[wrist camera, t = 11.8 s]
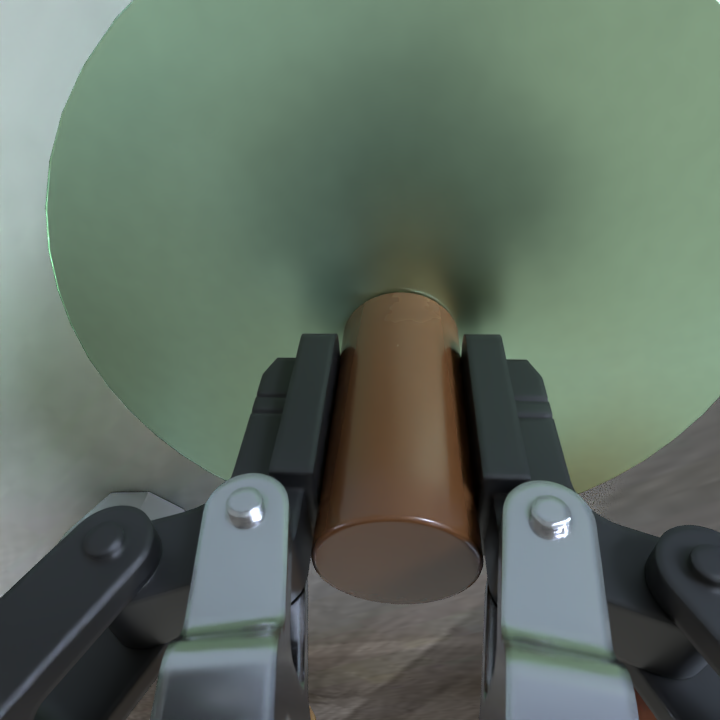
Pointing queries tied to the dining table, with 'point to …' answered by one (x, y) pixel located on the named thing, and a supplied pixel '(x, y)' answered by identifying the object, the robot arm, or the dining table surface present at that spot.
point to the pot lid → (398, 238)
